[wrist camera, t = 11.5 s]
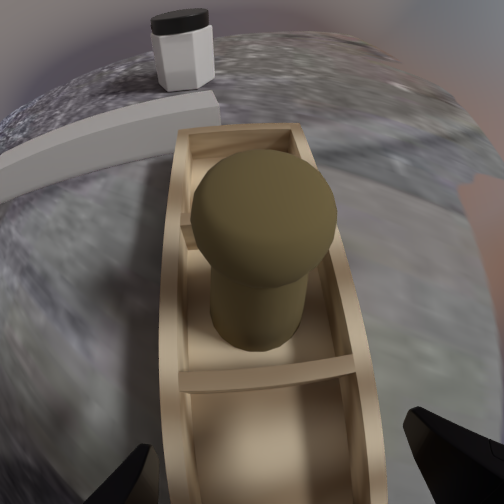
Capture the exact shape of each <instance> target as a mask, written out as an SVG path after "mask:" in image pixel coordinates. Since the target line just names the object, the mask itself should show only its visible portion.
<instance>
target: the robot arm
mask: <svg viewBox="0 0 504 504" xmlns="http://www.w3.org/2000/svg"><path fill="white" fill-rule="evenodd" d="M403 429H404V432H405V434H406V437H407V440H408V443H409V445H410V448H411V451H412V454H413V457H414V459H415V461H416V463H417V465H418V467H419V469H420V471H421V473H422V476H423V478H424V480H425V482H426V484H427V486H428V488H429V490H430V492H431V494H432V497H433V499H434V501H435V503H436V504H504V445H503V444H501V443H498V442H496V441H493V440H491V439H488V438H486V437H484V436H481V435H479V434H477V433H475V432H472V431H470V430H468V429H466V428H464V427H461V426H459V425H457V424H455V423H453V422H451V421H449V420H446V419H444V418H442V417H440V416H438V415H436V414H434V413H432V412H430V411H428V410H426V409H424V408H422V407H419V406H417V407H414V408H412V409H410V410H409V411H408V413H407V415H406V418H405V420H404V423H403ZM158 495H159V457H158V455H157V453H156V451H155V449H154V447H153V446H152V445H150V444H140V445H138V446H137V448H136V449H135V450H134V451H133V452H132V453H131V454H130V455H129V456H128V457H127V458H126V459H125V460H124V461H123V463H122V464H121V465H120V466H119V467H118V468H117V469H116V470H115V471H114V472H113V473H112V474H111V475H110V476H109V477H108V478H107V479H106V480H105V481H104V482H103V483H102V484H101V485H100V486H99V487H98V488H97V490H96V491H95V492H94V493H93V494H92V495H91V496H90V497H89V498H88V499H87V500H86V501H85V502H84V503H83V504H158Z"/></svg>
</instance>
